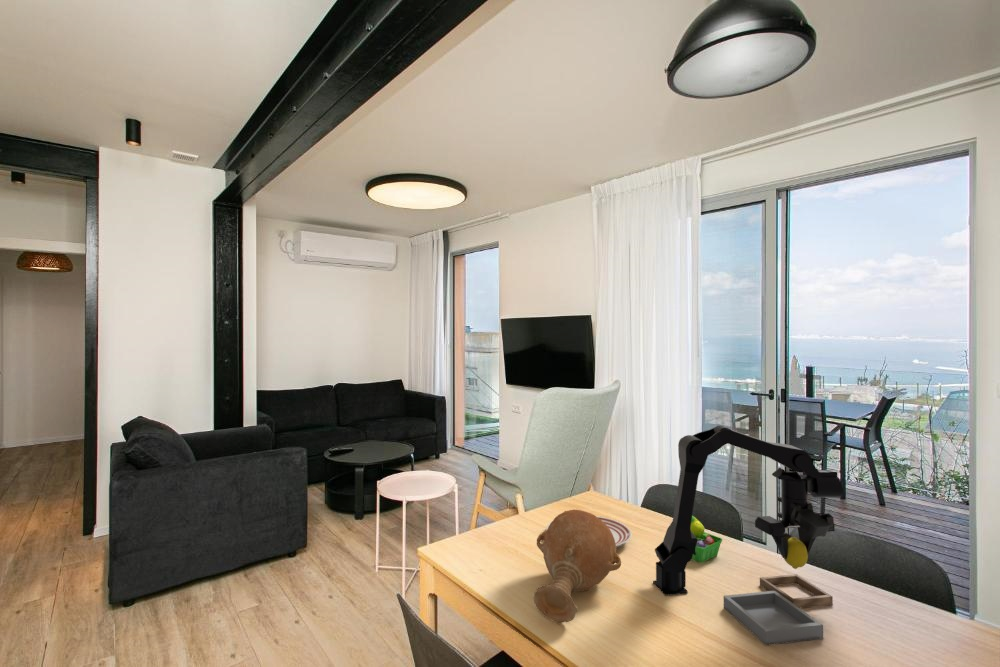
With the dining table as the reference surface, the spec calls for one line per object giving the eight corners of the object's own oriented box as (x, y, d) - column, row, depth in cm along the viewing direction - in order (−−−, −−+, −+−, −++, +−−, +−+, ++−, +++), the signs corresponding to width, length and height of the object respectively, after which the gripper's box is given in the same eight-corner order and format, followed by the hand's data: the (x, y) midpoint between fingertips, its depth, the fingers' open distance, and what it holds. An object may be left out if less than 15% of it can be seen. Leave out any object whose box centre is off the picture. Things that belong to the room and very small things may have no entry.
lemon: (811, 575, 115) (811, 542, 115) (787, 572, 116) (787, 540, 116) (802, 564, 120) (801, 533, 121) (778, 562, 122) (778, 532, 122)
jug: (636, 534, 126) (618, 604, 99) (595, 579, 132) (568, 656, 105) (577, 485, 131) (545, 538, 104) (541, 529, 137) (501, 591, 110)
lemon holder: (793, 608, 112) (793, 600, 112) (759, 585, 123) (759, 577, 123) (832, 604, 114) (832, 596, 114) (796, 581, 125) (796, 574, 125)
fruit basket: (702, 566, 133) (702, 526, 133) (675, 555, 140) (675, 517, 140) (723, 556, 140) (723, 518, 140) (696, 545, 147) (696, 509, 147)
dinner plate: (531, 544, 147) (531, 534, 147) (566, 517, 170) (566, 508, 171) (616, 567, 133) (616, 555, 133) (641, 533, 156) (641, 524, 156)
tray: (766, 645, 98) (766, 631, 98) (723, 608, 112) (723, 595, 112) (823, 638, 100) (823, 624, 101) (774, 602, 114) (774, 590, 114)
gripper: (787, 509, 109) (787, 576, 109) (854, 505, 112) (855, 569, 112) (753, 494, 120) (753, 554, 120) (815, 490, 123) (816, 549, 123)
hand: (794, 557), depth 118 cm, fingers closed on lemon, 6 cm apart
